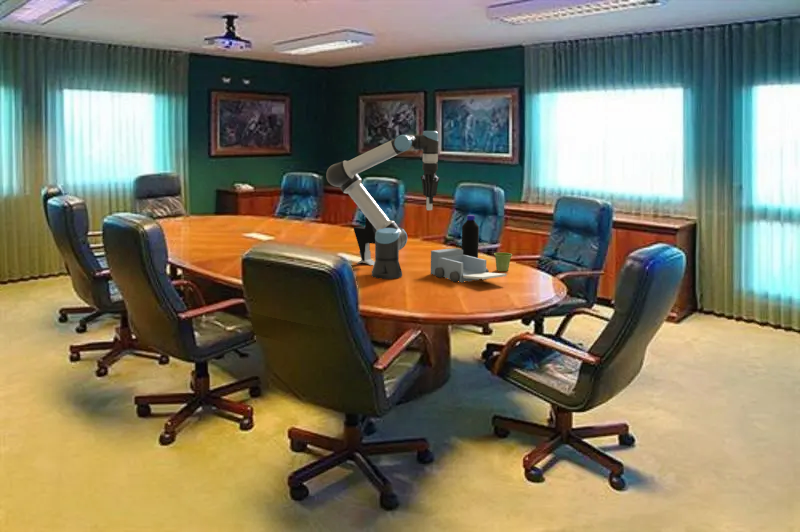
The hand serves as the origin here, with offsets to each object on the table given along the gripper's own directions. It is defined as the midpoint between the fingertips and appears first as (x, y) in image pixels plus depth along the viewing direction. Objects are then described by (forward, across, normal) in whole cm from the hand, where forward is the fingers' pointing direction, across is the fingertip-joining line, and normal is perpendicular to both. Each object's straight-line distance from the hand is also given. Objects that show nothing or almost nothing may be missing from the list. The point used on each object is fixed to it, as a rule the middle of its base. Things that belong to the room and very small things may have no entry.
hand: (429, 210), depth 354 cm
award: (+33, +38, +13) cm, 52 cm away
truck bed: (+32, -14, -8) cm, 36 cm away
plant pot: (+33, -14, -38) cm, 52 cm away
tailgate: (+29, -27, -8) cm, 41 cm away
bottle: (+33, +1, -28) cm, 43 cm away
